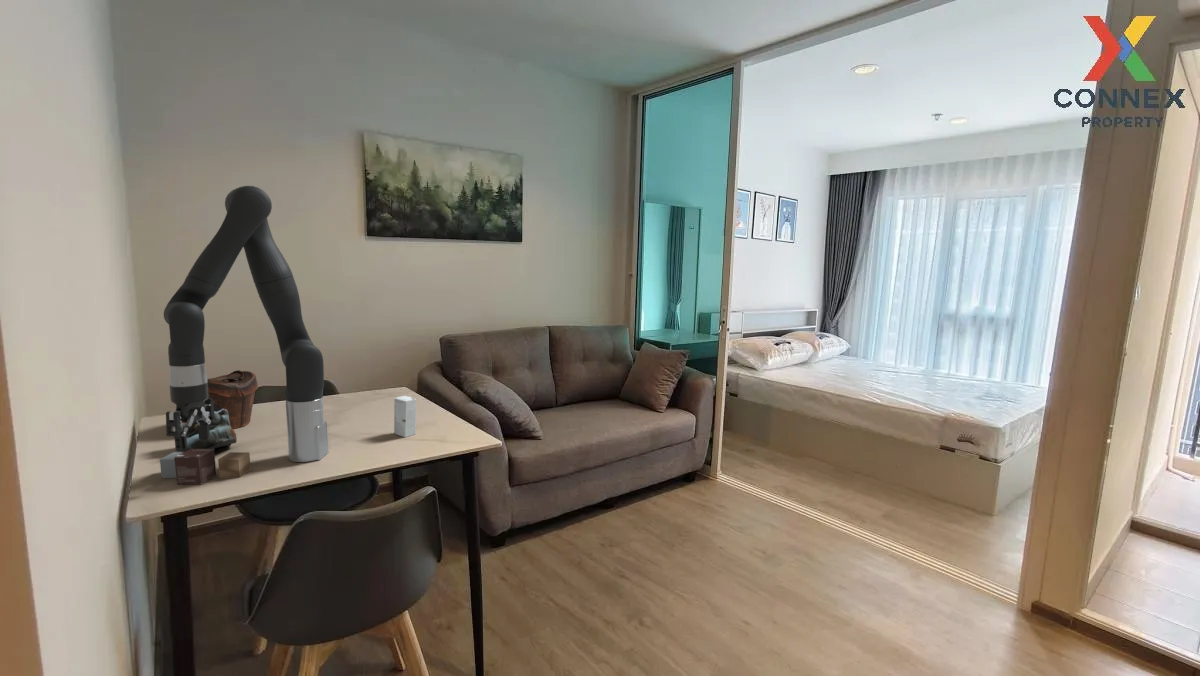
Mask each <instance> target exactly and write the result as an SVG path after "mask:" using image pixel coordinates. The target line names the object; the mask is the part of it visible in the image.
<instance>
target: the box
mask: <svg viewBox="0 0 1200 676" xmlns="http://www.w3.org/2000/svg"><path fill="white" fill-rule="evenodd" d="M174 460H175V469H176V478H175V479H176V484H177V485H203V484H204V483H206V482H207V481H209V480H211V479H212V478H214V477H215V476H217V468H216V467H217V466H216V465H217V464H216V457H215V449H189V450H187V451H185V452H183V453H181V454H179V455H177V456H176V457H174Z"/></svg>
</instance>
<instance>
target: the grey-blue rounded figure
mask: <svg viewBox="0 0 1200 676" xmlns="http://www.w3.org/2000/svg"><path fill="white" fill-rule="evenodd" d="M207 414H208V415H209V416H210V413H209V412H207ZM214 414H215V419H214V420H211V423H210V424H209V439H207V440H200V439H199V433H198V426H199V425H200V424H198V423H197V422H196V421H195V422H193V423H192V425H191V427H190V428H188V430H187V433H186V438H187V450H189V449H214V450H215V449H218V448H225V447H231V445H232V444H236V443H237V433H236V432H235V430H234V429H232V428H231V426H230V421H229V414H228V411H227V410H226V409H222V410H220V411H219V409H218V408H217V407H216V406H214ZM180 423H183V422H182V421H180ZM182 429H183V428H181V431H182ZM172 430H174V427H172ZM187 450H185V451H187ZM185 451H177V452H185Z"/></svg>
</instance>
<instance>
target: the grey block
mask: <svg viewBox="0 0 1200 676" xmlns="http://www.w3.org/2000/svg"><path fill="white" fill-rule="evenodd" d="M181 453H183V452H178V451H176V452H175V451H173V452H170V453H169V454H167V455H166V456H163V457H162V458H160V459H159V467H160V475H161V477H160V478H161V479H162V478H163V479H164V478H165V479H167V478H169V479H173V478H175V479H177V478H176V469H175V460H174V457H176V456H177V455H179V454H181Z"/></svg>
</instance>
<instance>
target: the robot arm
mask: <svg viewBox="0 0 1200 676" xmlns="http://www.w3.org/2000/svg"><path fill="white" fill-rule="evenodd" d="M224 206H225V211H226V213H225V216H224V220H223V221H222V224H221V225H220V227H219V229H217V230H218V231H216V233H215V235H214V236H213V238H212V239H211V240H210V241H209V243H208V244H207V245H206V247H205V248H204V249H203V250H202V251H201V252H200V254H199V256H198V258H197V259H196V261H195V262H194V263H193V265H192V267H191V268H190V270H189V272H188V273H187V275H186V277H185V278H184V281H183V283H182V284H181V285H180V287H178V289H177V291H176V292H175V293H174V294H173V296H172V297H171V298H170V300H169V301H168V303H167V304H166V306H165V307H164V309H163V319H164V321H165V322H166V324H167V325H168V330H169V340H170V342H169V343H168V344H169V345H168V348H167V349H168V364H169V365H168V366H169V368H168V383H169V395H170V396H169V397H170V401H171V403H173V404H175V405H176V407H175V410H174V411H166V413H165V422H166V423H165V427H166V429H165V430H166V436H167V437H174V445H175V446H174V447H175V451H176V452H178V451H185V450H187V438H186V433H187V430H188V428H190V427H191V425H192V423H193V422H195V421H196V422H197V423H198V424H200V425H199V426H198V433H199V439H200V440H207V439H209V424H210V423H211V420H214V419H215V414H214V405H213V399H212V398H208V397H209V395H208V381H207V379H208V371H207V366H206V360H205V358H206V357H205V355H206V354H205V348H204V339H205V329H206V327H205V325H206V324H205V321H206V320H205V315H204V312H203V310H204V309H205V307H206V305H207V303H208V302H209V301H210V300H211V298H213V297H215V296H216V295H217V293H218V292H219V291H220V288H221V287H222V285H223V284H224V282H225V280H226V278H227V276H228V275H229V273H230V271H231V269H232V267H233V265H234V264H235V262H236V261H237V258H238V257H239V254H240V253H241V251H242V250H243V249H244V253H245V257H246V261H247V263H248V268H249V271H250V275H251V277H252V280H253V284H254V287H255V288H256V292H257V294H258V297H259V299H260V302H261V304H262V307H263V309H264V311H265V313H266V314H267V316H268V318H269V321H270V322H271V324H272V326H273V329H274V331H275V335H276V339H277V344H278V346H279V352H280V356H281V361H282V363H283V365H284V367H285V379H286V381H285V383H286V384H285V385H286V387H285V388H286V389H285V391H284V392H285V394H284V395H285V409H286V410H285V411H286V427H287V428H286V430H287V431H286V432H287V444H288V445H287V446H288V451H287V452H288V458H289V460H290V461H291V462H294V463H306V462H312V461H320V460H322V459H323V458H324V457H326V455H327V454H328V453H329V437H328V434H329V432H328V422H327V420H325V416H324V414H325V413H324V412H325V411H324V397H323V396H324V394H323V393H324V387H325V369H324V357H323V353H322V352H321V350H320V349H319V347H317V346H316V345H315V344H314V343H313V341H312V339H311V338H310V337H311V336H310V335H309V333H308V330H307V328H306V325H305V322H304V319H303V315H302V305H301V299H300V295H299V294H300V293H299V289H298V286H297V284H296V281H295V277H294V275H293V272H292V270H291V268H290V266H289V263H288V262H287V260H286V259H285V256H284V255H283V253H282V252H281V251H280V249H279V247H278V246H277V244H276V242H275V240H274V238H273V234H272V232H271V227H270V224H269V221H268V218H269V216H270V215H271V213H272V212H271V211H272V209H273V207H272V206H273V205H272V200H271V198H270V196H269V195H268V194H267V192H266V191H265V190H263V189H262V188H260V187H258V186H254V185H243V186H239V187H237V188H235V189H232V190H231V191H229V193H227V195H226V197H225V200H224ZM207 412H209V413H210V416H209V415H208V414H207ZM181 422H183V423H181ZM173 427H174V429H173ZM181 428H183V429H182V431H181Z"/></svg>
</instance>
